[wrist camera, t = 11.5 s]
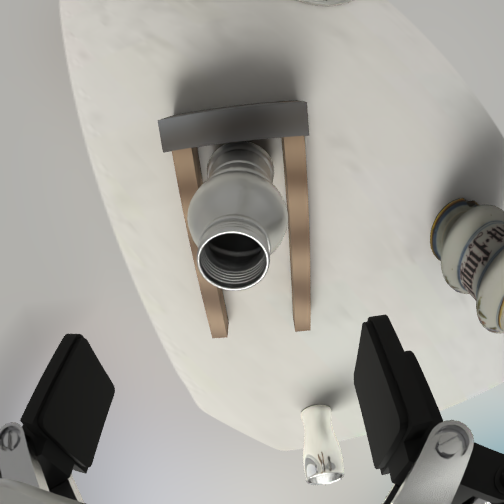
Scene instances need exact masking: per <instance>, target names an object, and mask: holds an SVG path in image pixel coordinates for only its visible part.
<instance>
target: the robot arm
mask: <svg viewBox="0 0 504 504" xmlns="http://www.w3.org/2000/svg"><path fill="white" fill-rule="evenodd" d="M298 1H301V2H303V3H307V4H312V5H317V6H336V5H342V4H346V3H349V2H351V1H353V0H326V1H324V0H298ZM354 385H355V389H356V393H357V396H358V400H359V404H360V408H361V412H362V416H363V420H364V424H365V428H366V432H367V437H368V441H369V445H370V449H371V454H372V458H373V463H374V466H375V468H376V469H380V470H381V474H382V475H384V474H389V473H390V476H391V481H392V483H394V485H393V487H392V488H391V490H390V491H389V493H388V495H387V496H386V498H385V499H384V501H383V503H382V504H504V454H502V453H499V452H496V451H494V450H491V449H489V448H486V447H484V446H482V445H479V444H477V443H474V438H473V434H472V432H471V430H470V429H469V428H468V427H467V426H466V425H465V424H463V423H461V422H459V421H454V420H450V421H444V422H443V419H442V417H441V414H440V412H439V409H438V407H437V404H436V402H435V400H434V397H433V395H432V392H431V390H430V388H429V385H428V383H427V381H426V379H425V376H424V374H423V372H422V370H421V367H420V365H419V363H418V361H417V359H416V357H415V355H414V353H413V352H412V351H405V352H404V350H403V348H402V346H401V343H400V341H399V339H398V337H397V335H396V333H395V330H394V328H393V326H392V324H391V322H390V320H389V318H388V316H387V315H380V316H373V317H369V318H368V321H367V322H364V323H363V324H362V330H361V337H360V343H359V349H358V355H357V361H356V366H355V371H354ZM114 393H115V388H114V385H113V383H112V382H111V380H110V378H109V377H108V375H107V374H106V372H105V370H104V369H103V367H102V365H101V364H100V362H99V360H98V358H97V357H96V355H95V353H94V351H93V350H92V348H91V346H90V344H89V343H88V341H87V340H86V339H85V338H84V337H83V336H82V335H81V334H66V335H65V336H64V338H63V339H62V341H61V343H60V344H59V346H58V348H57V350H56V351H55V354H54V355H53V357H52V359H51V360H50V362H49V364H48V366H47V368H46V370H45V372H44V374H43V375H42V377H41V379H40V381H39V383H38V385H37V387H36V389H35V391H34V393H33V395H32V397H31V399H30V401H29V403H28V405H27V407H26V409H25V411H24V413H23V415H22V418H21V422H22V423H23V426H22V427H21V426H20V425H19V424H18V423H13V422H11V423H8V424H5V425H4V426H3V427H2V428H1V429H0V504H85V503H84V501H83V499H82V497H81V494H80V492H79V490H78V488H77V486H76V484H75V481H74V479H73V476H72V474H71V473H72V470H73V469H74V470H75V471H79V472H82V473H87V470H88V467H90V466H91V465H92V462H93V459H94V455H95V452H96V449H97V445H98V442H99V439H100V436H101V432H102V429H103V426H104V423H105V420H106V417H107V414H108V411H109V408H110V405H111V402H112V399H113V396H114Z"/></svg>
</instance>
